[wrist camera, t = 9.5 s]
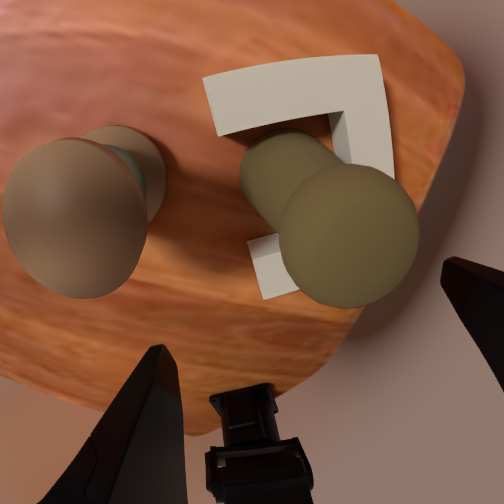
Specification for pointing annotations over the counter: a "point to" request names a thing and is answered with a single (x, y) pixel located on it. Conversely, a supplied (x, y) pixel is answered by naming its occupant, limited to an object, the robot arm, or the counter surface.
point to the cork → (331, 218)
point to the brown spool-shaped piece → (84, 209)
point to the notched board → (302, 105)
